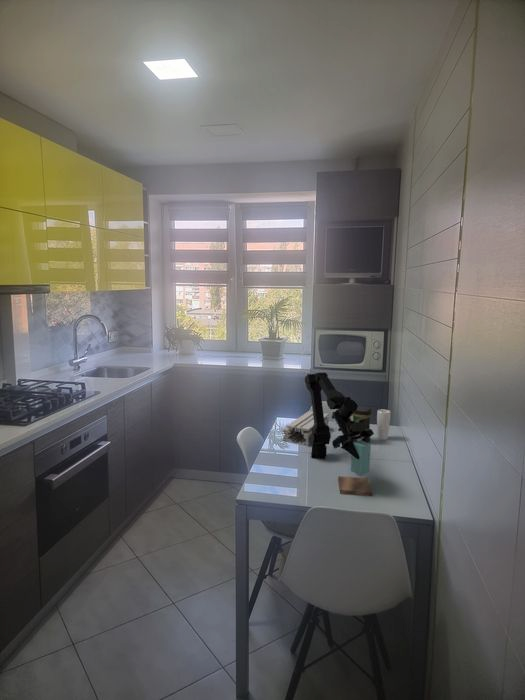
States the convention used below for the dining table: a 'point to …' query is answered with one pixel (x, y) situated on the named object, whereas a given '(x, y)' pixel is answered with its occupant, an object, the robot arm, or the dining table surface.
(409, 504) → the dining table surface
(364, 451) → the teal block
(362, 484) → the walnut board
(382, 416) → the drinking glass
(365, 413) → the coffee jar
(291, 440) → the aluminum extrusion profile
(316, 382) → the robot arm
